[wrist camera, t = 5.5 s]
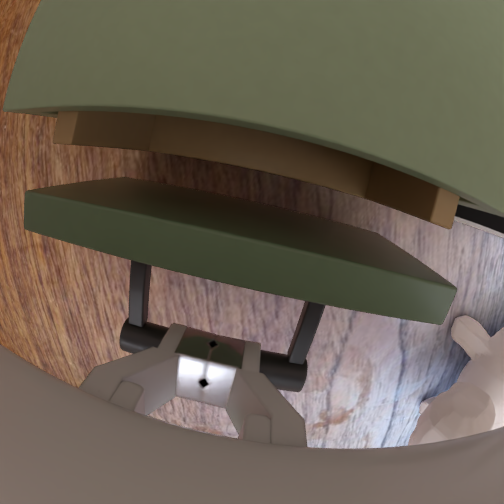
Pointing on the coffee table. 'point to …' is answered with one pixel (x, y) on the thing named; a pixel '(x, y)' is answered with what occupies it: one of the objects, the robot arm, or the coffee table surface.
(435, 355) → the coffee table surface
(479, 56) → the cabinet
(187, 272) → the drawer
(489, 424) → the white animal figurine
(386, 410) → the coffee table surface
